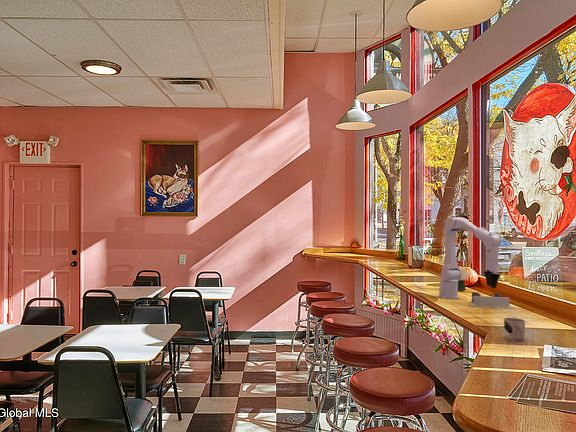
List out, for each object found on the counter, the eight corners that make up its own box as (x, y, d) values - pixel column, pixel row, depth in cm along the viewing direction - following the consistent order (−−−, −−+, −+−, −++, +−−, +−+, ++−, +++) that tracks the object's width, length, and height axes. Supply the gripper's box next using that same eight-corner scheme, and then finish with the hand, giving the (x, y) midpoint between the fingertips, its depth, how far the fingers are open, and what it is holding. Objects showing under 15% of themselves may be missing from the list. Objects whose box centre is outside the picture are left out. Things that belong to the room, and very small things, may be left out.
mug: (500, 335, 170) (501, 317, 170) (519, 336, 170) (519, 318, 170) (513, 343, 160) (513, 323, 160) (532, 343, 160) (533, 324, 160)
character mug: (468, 290, 284) (468, 268, 284) (470, 291, 277) (471, 270, 277) (449, 289, 286) (450, 268, 286) (451, 291, 279) (452, 269, 279)
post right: (497, 305, 234) (497, 295, 234) (494, 303, 240) (494, 293, 240) (503, 305, 234) (503, 295, 234) (500, 303, 239) (500, 293, 240)
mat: (471, 306, 228) (471, 305, 228) (468, 304, 235) (468, 302, 235) (514, 308, 225) (515, 307, 225) (510, 306, 232) (510, 305, 232)
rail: (474, 304, 230) (475, 296, 230) (473, 303, 233) (473, 295, 233) (509, 306, 227) (509, 298, 227) (507, 305, 230) (507, 297, 230)
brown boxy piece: (474, 303, 236) (474, 293, 236) (471, 301, 242) (471, 292, 242) (480, 304, 236) (480, 294, 236) (477, 302, 242) (478, 292, 242)
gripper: (504, 260, 222) (504, 289, 222) (497, 258, 237) (496, 285, 236) (489, 260, 224) (488, 288, 224) (482, 257, 238) (481, 284, 238)
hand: (491, 286), depth 230 cm, fingers open, 7 cm apart
